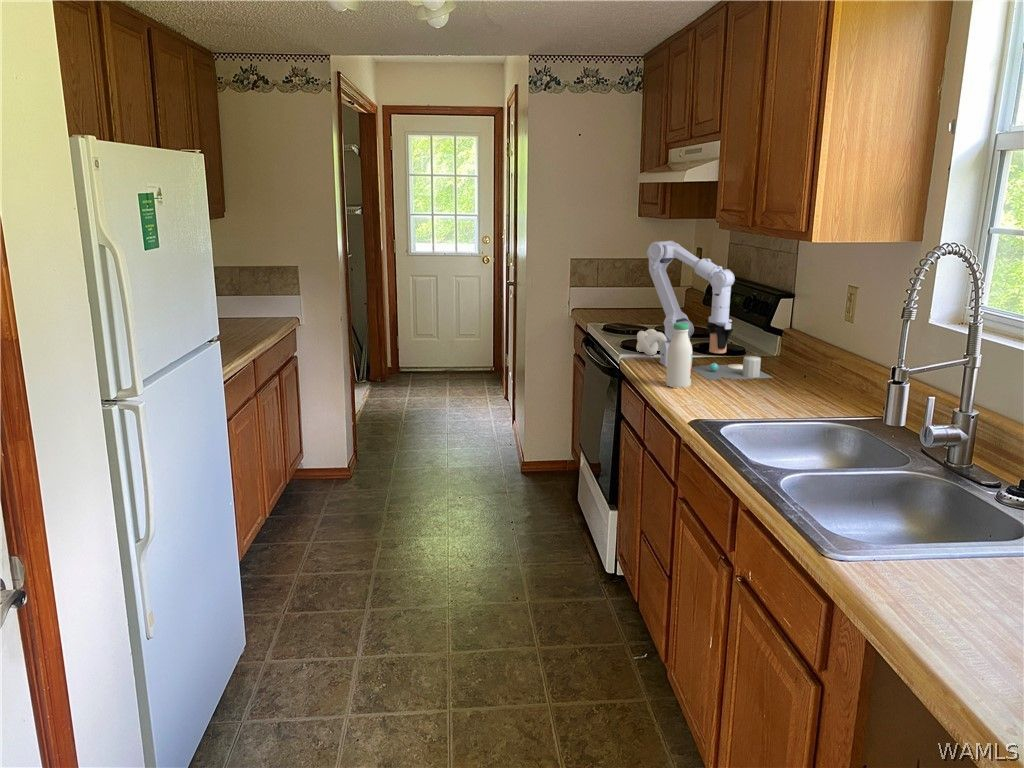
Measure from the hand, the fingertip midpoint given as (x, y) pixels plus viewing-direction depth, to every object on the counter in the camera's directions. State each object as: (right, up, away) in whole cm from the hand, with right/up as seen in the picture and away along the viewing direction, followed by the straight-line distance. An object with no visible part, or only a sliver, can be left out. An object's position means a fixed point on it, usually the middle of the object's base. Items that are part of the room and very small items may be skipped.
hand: (718, 346), depth 251 cm
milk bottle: (-17, -13, -15) cm, 26 cm away
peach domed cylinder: (0, -2, 0) cm, 2 cm away
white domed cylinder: (+10, -10, -4) cm, 14 cm away
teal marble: (-1, -7, +1) cm, 7 cm away
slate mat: (+4, -9, +1) cm, 10 cm away
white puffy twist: (-17, -1, +32) cm, 36 cm away
